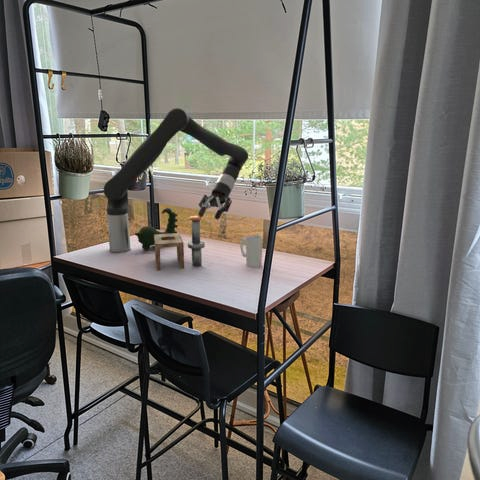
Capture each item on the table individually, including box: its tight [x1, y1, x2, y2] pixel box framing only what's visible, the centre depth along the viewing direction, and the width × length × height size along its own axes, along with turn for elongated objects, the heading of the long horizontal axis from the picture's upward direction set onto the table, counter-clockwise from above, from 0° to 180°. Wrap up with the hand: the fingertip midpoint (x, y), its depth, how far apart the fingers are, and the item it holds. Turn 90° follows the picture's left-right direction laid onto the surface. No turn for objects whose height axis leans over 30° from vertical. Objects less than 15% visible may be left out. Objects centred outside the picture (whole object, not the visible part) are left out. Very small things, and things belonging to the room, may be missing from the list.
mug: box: [239, 234, 263, 268], centre depth 177 cm, size 10×7×12 cm, turn 56°
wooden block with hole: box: [154, 232, 185, 271], centre depth 178 cm, size 11×16×11 cm
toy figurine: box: [134, 207, 179, 251], centre depth 203 cm, size 9×19×25 cm
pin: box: [187, 215, 206, 268], centre depth 175 cm, size 7×7×20 cm
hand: (208, 217), depth 179 cm, fingers open, 8 cm apart
